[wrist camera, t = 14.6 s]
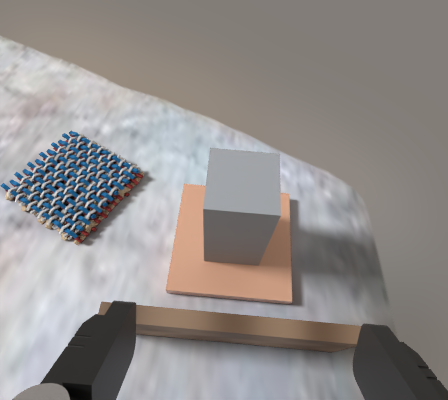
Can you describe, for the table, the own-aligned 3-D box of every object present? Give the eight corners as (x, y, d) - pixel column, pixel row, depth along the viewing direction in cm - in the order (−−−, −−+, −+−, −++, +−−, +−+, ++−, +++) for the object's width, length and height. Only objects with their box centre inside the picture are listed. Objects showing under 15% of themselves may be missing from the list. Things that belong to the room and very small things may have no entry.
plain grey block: (203, 261, 29) (203, 208, 20) (209, 210, 32) (210, 145, 23) (258, 265, 29) (281, 215, 20) (259, 214, 32) (279, 151, 23)
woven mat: (80, 253, 30) (72, 245, 28) (4, 199, 33) (-7, 188, 31) (150, 178, 35) (147, 167, 33) (79, 136, 37) (73, 123, 36)
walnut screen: (118, 332, 26) (96, 320, 21) (121, 317, 27) (101, 301, 22) (332, 352, 26) (363, 345, 21) (330, 336, 27) (360, 326, 22)
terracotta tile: (167, 292, 28) (165, 290, 27) (184, 188, 34) (184, 183, 33) (289, 304, 28) (292, 301, 27) (287, 198, 34) (289, 193, 33)
